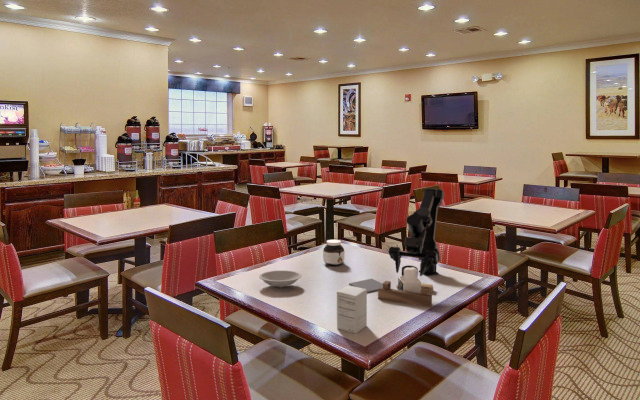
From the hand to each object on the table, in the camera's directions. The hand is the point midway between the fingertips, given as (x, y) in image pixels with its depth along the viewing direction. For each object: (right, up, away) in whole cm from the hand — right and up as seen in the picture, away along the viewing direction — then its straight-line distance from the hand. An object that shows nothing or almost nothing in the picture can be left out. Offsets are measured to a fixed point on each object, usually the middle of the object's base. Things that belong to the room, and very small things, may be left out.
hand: (408, 274), depth 165 cm
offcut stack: (+5, -8, +10) cm, 14 cm away
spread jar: (-27, -3, +48) cm, 56 cm away
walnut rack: (-2, -10, -2) cm, 10 cm away
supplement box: (-24, -13, -25) cm, 37 cm away
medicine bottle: (+1, -9, +2) cm, 10 cm away
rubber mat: (-14, -8, +14) cm, 21 cm away
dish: (-50, -8, +14) cm, 53 cm away
